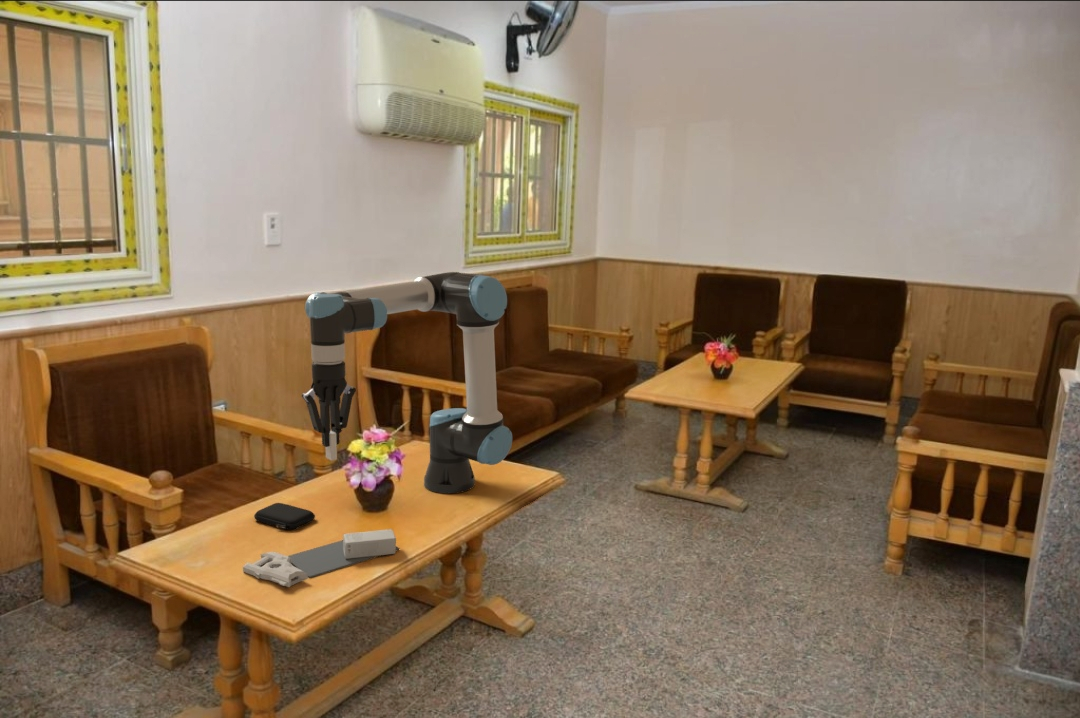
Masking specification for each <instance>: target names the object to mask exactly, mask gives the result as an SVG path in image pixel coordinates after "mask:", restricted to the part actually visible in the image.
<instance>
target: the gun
mask: <svg viewBox="0 0 1080 718" xmlns="http://www.w3.org/2000/svg"><path fill="white" fill-rule="evenodd" d="M288 556H289V555H284V554H281V553H280V552H277V551H276V552H275V551H268V552H264V553H262V554H260V559H258V560H256V561H254V562H253V563H251V562H246V563H245V564H244V566H242V572H243V573H245V574H248V575H251V576H254V577H255V578H257V579H258V580H259V579H262V580H265V581H271V582H273V583H276V584H278V585H280V586H283V587H287V588H290V587H291V586H293V585H295V584H298V583H300V582H302V581H305V580H307V579H309V577H308V575H307V573H305V572H304V571H302V570H300V569H298V568H296V567H295V566H293V565H292V564H291V558H290V557H288Z"/></svg>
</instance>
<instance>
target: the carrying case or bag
mask: <svg viewBox="0 0 1080 718" xmlns="http://www.w3.org/2000/svg"><path fill="white" fill-rule="evenodd" d="M253 518H254V520H256V522H259V523H262V524H267V525H269V526H273V527H276V528H277V529H283V530H284V529H285V530H289V531H295V530H297V529H299V528H301V527H303V526H306V525H307V524H310V523H312V521H314V520H315V518H316V515H315V513H313V511H311V510H309V509H307V508H306V509H305V508H302V507H298V506H294V505H291V504H290V505H289V504H286V503H283V502H275V503H272V504H271V505H267V506H265V507H264V508H261V509H258V510H257V511H256V512H255V514H254V516H253Z"/></svg>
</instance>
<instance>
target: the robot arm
mask: <svg viewBox="0 0 1080 718" xmlns="http://www.w3.org/2000/svg"><path fill="white" fill-rule="evenodd" d="M304 304H305V305H304V307H305V308H304V309H305V315H306V316H307V317H308V319H309V325H310V326H309V328H310V347H311V348H310V349H311V350H310V353H311V355H310V356H311V360H312V363H311V378H312V383H311V385H310V389H309V390H308V391H306V392H303V393H302V394H301V397H302V399H303V400H304V402H305V403H306V406H307V411H308V413H309V417H310V421H311V424H312V428H313V430H314V431H315V432H317V433H320V434H321V444H322V446H323V447H324V448H325V458H326V459H327V460H329V461H331V462H333V461H336V460H338V449H337V446H338V445H340V441H341V440H340V433H342V431H343V429H346V428H347V427H348V422H349V416H350V411H351V405H352V401H353V397H354V396H355V393H356V391H357V388H356V387H353V386H352V385H351V386H350V385H349V384H348V382H347V380H346V362H345V359H346V346H345V337H346V336H345V335H346V334H349V333H350V334H351V333H356V332H357V333H358V332H364V331H365V332H366V331H373V330H376V329H380V328H382V327H384V325H386V323H387V320H388V315H391V314H398V313H403V312H408V311H415V310H418V311H420V312H442V313H449V314H452V315H456V326H458V328H460V329H461V330H462V341H463V359H464V377H465V379H464V380H465V398H466V408H462V407H460V408H459V407H457V408H456V407H455V408H445V409H444V408H443V409H441V410H439V409H438V410H437V411H434V412H433V413H432V414H430V417H429V425H428V426H429V427H428V428H429V430H428V431H429V463H428V465H427V468H426V472H425V475H424V478H423V486H424V488H425V489H426V490H428V491H431V492H434V493H440V494H458V493H457V492H459V493H463V492H462V491H464V492H467V491H469V490H468V489H470V488H471V489H473V488H474V487H475V485H474V484H476V482H475V481H476V480H475V479H476V478H475V475H474V471H473V468H472V465H471V461H474V462H477V463H479V464H481V465H489V466H494V465H498V464H499V463H501V462H502V461H504V459H505V458H506V457H507V456H508V454H509V453H510V450H511V448H512V444H513V433H512V431H511V429H510V428H509V427H507V426H506V425H504V416H503V414H502V412H500V411H499V410H498V400H497V399H498V398H497V397H498V395H497V394H498V393H497V374H496V373H497V372H496V370H497V369H496V350H495V328H496V327H498V325H499V324H500V319H501V318H502V317H503V316H504V314H505V310H506V309H507V305H508V295H507V292H506V289H505V287H504V285H503V284H502V282H500V280H499V279H498V278H496V277H493V276H488V275H486V274H478V273H477V274H476V273H465V272H459V271H449V272H442V273H436V274H431V275H430V274H429V275H426V276H418V277H416V278H415V279H414V280H413V281H409V282H402V283H397V284H389V285H382V286H373V287H367V288H360V289H352V290H348V291H339V292H330V293H327V292H323V291H322V292H314V293H312V294H310V295H309V296H308V297H307V299H306V301H305V303H304ZM341 396H342V399H341ZM316 397H317V398H318V403H319V409H318V406H317V402H316ZM470 460H471V461H470ZM473 486H474V487H473ZM472 487H473V488H472ZM471 489H470V490H471ZM466 490H467V491H466Z"/></svg>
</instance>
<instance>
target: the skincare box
mask: <svg viewBox="0 0 1080 718" xmlns="http://www.w3.org/2000/svg"><path fill="white" fill-rule="evenodd" d="M342 536H343V538H342V540H343V551H344V555H345V558H346V559H349V558H359V557H368V556H378V555H382V556H385V555H394V554H395V555H396V552H397V551H396V546H397V538H396V534H395V533H394V531H393V528H389V529H379V530H370V531H359V532H349V533H344V534H343V535H342Z"/></svg>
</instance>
